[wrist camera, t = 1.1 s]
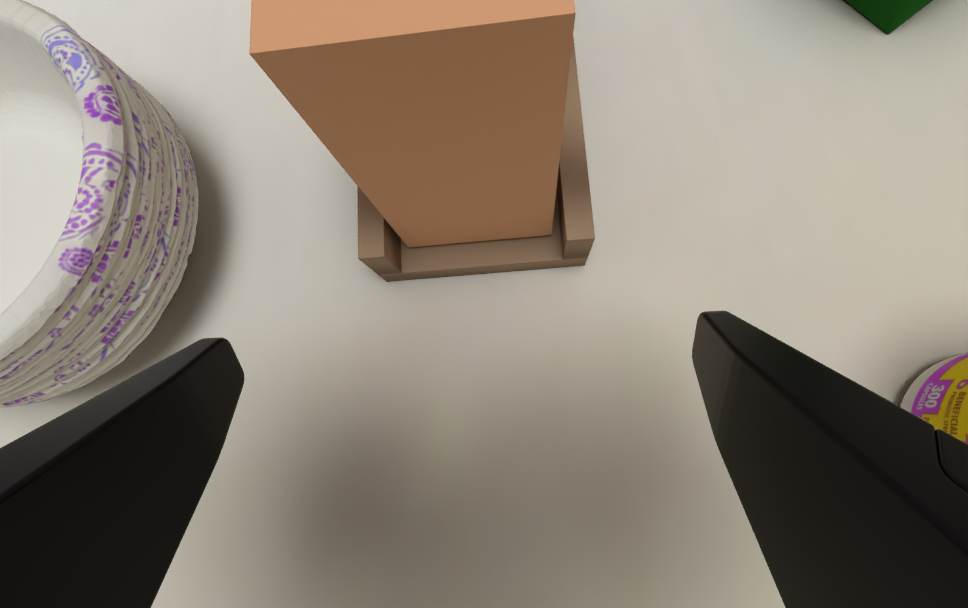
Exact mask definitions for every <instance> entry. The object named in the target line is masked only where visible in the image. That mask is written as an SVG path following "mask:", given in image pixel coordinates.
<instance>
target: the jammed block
mask: <svg viewBox="0 0 968 608" xmlns="http://www.w3.org/2000/svg"><path fill="white" fill-rule="evenodd" d="M574 21H575V6H574V0H252V1H251V27H250V55H251V56H252V57H253V59H254V60H255V61H256V62H257V63H258V65H259V66H260V67H261V68H262V69H263V71H264V72H265V73H266V74H267V76H268V77H269V78H270V79H271V80H272V82H273V83H274V84H275V85H276V87H277V88H278V89H279V90H280V91H281V93H282V94H283V95H284V96H285V98H286V99H287V100H288V101H289V102H290V104H291V105H292V106H293V107H294V109H295V110H296V111H297V112H298V113H299V115H300V116H301V117H302V118H303V120H304V121H305V122H306V123H307V124H308V126H309V127H310V128H311V129H312V131H313V132H314V133H315V134H316V135H317V137H318V138H319V139H320V140H321V141H322V143H323V144H324V145H325V146H326V148H327V149H328V150H329V151H330V152H331V154H332V155H333V156H334V157H335V159H336V160H337V161H338V162H339V163H340V165H341V166H342V167H343V168H344V170H345V171H346V172H347V173H348V174H349V176H350V177H351V178H352V179H353V181H354V182H355V183H356V184H357V185H358V187H359V188H360V189H361V190H362V192H363V193H364V194H365V195H366V196H367V198H368V199H369V200H370V201H371V203H372V204H373V205H374V206H375V207H376V209H377V210H378V211H379V212H380V214H381V215H382V216H383V217H384V218H385V220H386V221H387V222H388V223H389V224H390V226H391V227H392V228H393V229H394V231H395V232H396V233H397V234H398V235H399V237H400V238H401V239H402V240H403V242H404V243H405V244H406V245H407V246H408V247H420V246H431V245H443V244H454V243H465V242H477V241H488V240H499V239H511V238H522V237H534V236H545V235H552V225H553V216H554V207H555V197H556V188H557V179H558V169H559V160H560V151H561V141H562V132H563V123H564V114H565V104H566V95H567V86H568V76H569V67H570V58H571V48H572V39H573V30H574Z"/></svg>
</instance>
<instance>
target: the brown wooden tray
mask: <svg viewBox="0 0 968 608" xmlns="http://www.w3.org/2000/svg"><path fill="white" fill-rule="evenodd" d="M594 239H595V235H594V226H593V216H592V207H591V198H590V188H589V179H588V170H587V160H586V151H585V142H584V133H583V123H582V114H581V105H580V95H579V86H578V77H577V67H576V58H575V49H574V39H572V48H571V58H570V67H569V76H568V86H567V95H566V104H565V114H564V123H563V132H562V141H561V151H560V160H559V169H558V179H557V188H556V197H555V207H554V216H553V225H552V235H545V236H534V237H522V238H511V239H499V240H488V241H477V242H465V243H454V244H443V245H431V246H420V247H408V246H407V245H406V244H405V243H404V242H403V240H402V239H401V238H400V237H399V235H398V234H397V233H396V232H395V231H394V229H393V228H392V227H391V226H390V224H389V223H388V222H387V221H386V220H385V218H384V217H383V216H382V215H381V214H380V212H379V211H378V210H377V209H376V207H375V206H374V205H373V204H372V203H371V201H370V200H369V199H368V198H367V196H366V195H365V194H364V193H363V192H362V190H361V189H360V188H359V187H358V259H359V260H361V261H362V262H363V263H364V264H366V265H367V266H368V267H369V268H371V269H372V270H373V271H374V272H376V273H377V274H378V275H379V276H380V277H382V278H383V279H384V280H385V281H399V280H411V279H423V278H435V277H448V276H460V275H472V274H484V273H496V272H508V271H520V270H533V269H545V268H557V267H569V266H581V265H585V263H586V260H587V258H588V255H589V252H590V250H591V247H592V244H593V242H594Z"/></svg>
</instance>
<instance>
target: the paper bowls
mask: <svg viewBox="0 0 968 608" xmlns="http://www.w3.org/2000/svg"><path fill="white" fill-rule="evenodd" d="M198 194H199V191H198V187H197V180H196V173H195V169H194V162H193V160H192V157H191V155H190V150H189V147H188V146H187V144H186V143H185V138H184V136H183V135H182V134H181V133H180V131H179V128H178V126H177V125H176V123H175V122H174V120H173V119H172V117H171V116H170V114H169V113H168V112H167V110H166V109H165V108H164V107H163V106H162V105H161V104H160V103H159V102H158V101H157V100H156V99H155V98H154V97H153V96H152V95H151V94H150V93H149V92H148V91H147V90H146V89H145V88H144V87H143V86H141V85H140V84H138V83H137V82H136V81H134V80H133V79H132V78H131V77H130V76H128V75H127V74H126V73H125V72H124V71H123V70H122V69H120V68H119V67H118V66H117V65H116V64H115V63H113V62H112V61H111V60H110V59H109V58H108V57H107V56H105V55H104V54H103V53H102V52H100V51H99V50H98V49H96V48H95V47H93V46H92V45H91V44H90V43H88V42H87V41H85V40H84V39H82V38H81V37H80V36H79V35H78V34H77V32H76V31H75V30H73V29H72V28H71V27H70V26H69V25H68V24H67V23H66V22H64V21H62V20H61V19H59V18H58V17H56V16H55V15H53V14H50V13H48V12H46V11H45V10H43V9H41V8H39V7H36V6H34V5H32V4H30V3H27V2H25V1H22V0H0V407H15V406H22V405H28V404H32V403H37V402H41V401H45V400H49V399H51V398H54V397H57V396H61V395H64V394H66V393H68V392H70V391H73V390H75V389H78V388H80V387H82V386H84V385H86V384H88V383H90V382H92V381H93V380H95V379H96V378H98V377H99V376H100V375H102V374H104V373H106V372H108V371H109V370H111V369H112V368H113V367H115V366H116V365H118V364H120V363H122V362H123V361H124V359H125V358H126V357H127V356H128V355H129V354H130V353H131V352H132V351H133V350H134V349H135V348H136V347H137V346H138V345H139V344H140V343H141V342H142V341H143V340H144V339H145V338H146V337H147V336H148V335H149V334H150V333H151V331H152V330H153V328H154V327H155V325H156V323H157V322H158V320H159V319H160V317H161V314H162V313H163V311H164V310H165V308H166V307H167V305H168V303H169V302H170V300H171V299H172V297H173V295H174V293H175V292H176V290H177V288H178V286H179V284H180V282H181V280H182V277H183V273H184V271H185V269H186V267H187V263H188V262H187V259H188V256H189V254H191V252H192V249H193V244H194V238H195V235H196V226H197V220H198V207H199V203H198Z"/></svg>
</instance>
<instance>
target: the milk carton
mask: <svg viewBox="0 0 968 608" xmlns="http://www.w3.org/2000/svg"><path fill="white" fill-rule="evenodd" d="M845 1H846V2H847V3H849V4H850V5H851V6H853V7H854V8H855V9H856V10H858V11H859V12H860V13H862V14H863V15H864V16H865V17H867V18H868V19H869V20H871V21H872V22H873V23H874V24H876V25H877V26H878V27H880V28H881V29H882V30H883V31H885V32H886V33H887V34H889V33H891V32H892V31H893V30H895V29H896V28H897V27H899V26H900V25H901V24H902V23H904V22H905V21H906V20H908V19H909V18H910V17H912V16H913V15H914V14H915V13H917V12H918V11H919V10H921V9H922V8H923V7H925V6H926V5H927V4H929V3H930V2H931V1H932V0H845Z"/></svg>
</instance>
